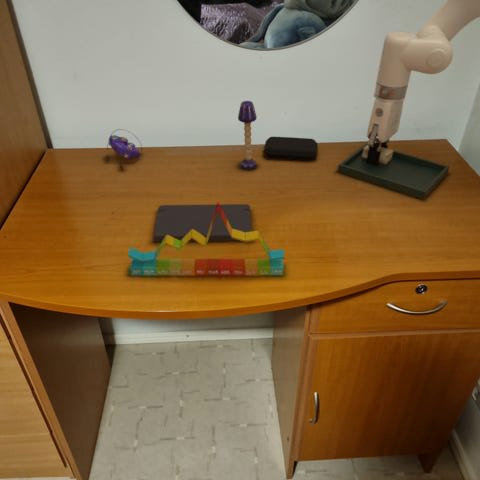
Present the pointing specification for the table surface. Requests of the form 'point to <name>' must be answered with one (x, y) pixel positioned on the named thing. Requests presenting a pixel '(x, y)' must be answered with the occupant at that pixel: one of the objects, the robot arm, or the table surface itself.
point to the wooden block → (384, 156)
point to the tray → (397, 173)
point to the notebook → (201, 221)
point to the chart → (153, 266)
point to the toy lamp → (247, 132)
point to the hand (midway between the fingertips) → (375, 160)
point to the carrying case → (291, 148)
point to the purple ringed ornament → (123, 147)
